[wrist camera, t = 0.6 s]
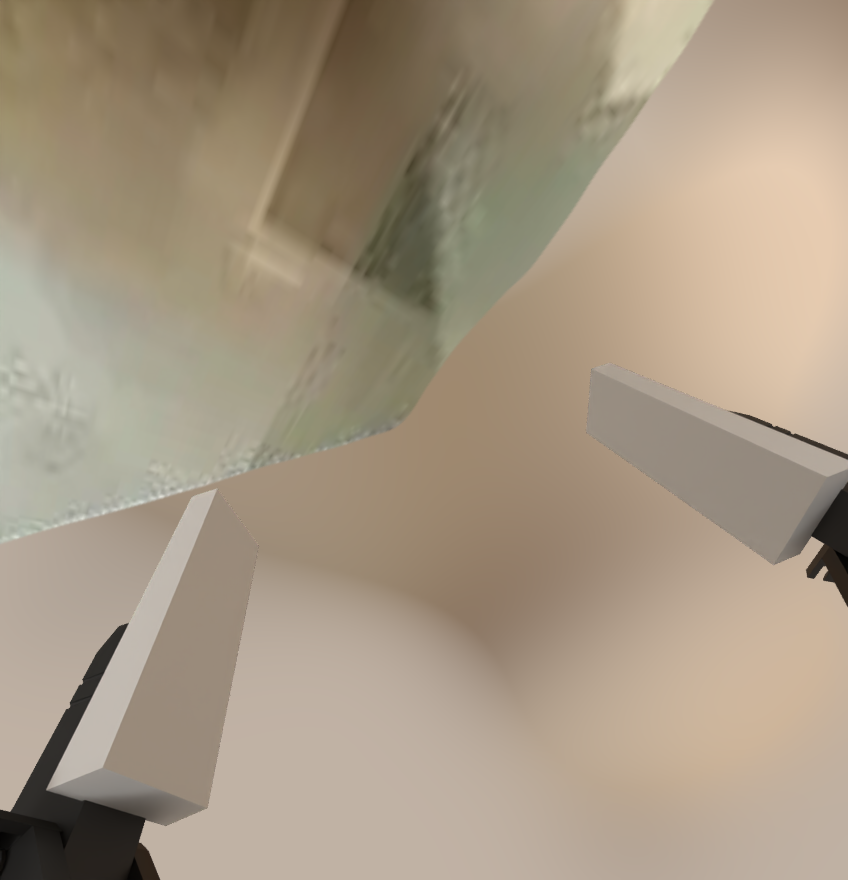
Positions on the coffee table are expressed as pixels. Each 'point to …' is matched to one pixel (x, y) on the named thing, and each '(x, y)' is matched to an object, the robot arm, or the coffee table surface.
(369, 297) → the coffee table surface
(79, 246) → the coffee table surface
